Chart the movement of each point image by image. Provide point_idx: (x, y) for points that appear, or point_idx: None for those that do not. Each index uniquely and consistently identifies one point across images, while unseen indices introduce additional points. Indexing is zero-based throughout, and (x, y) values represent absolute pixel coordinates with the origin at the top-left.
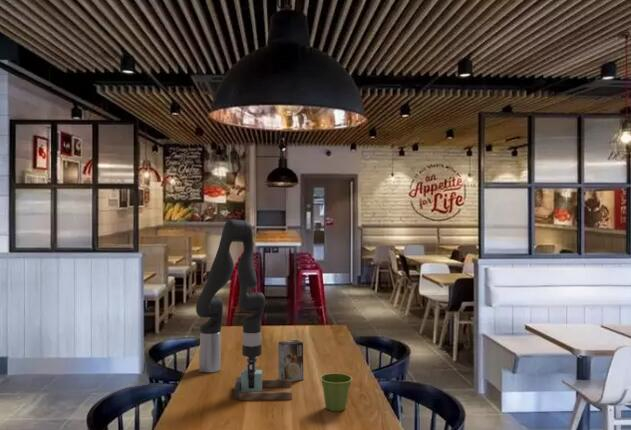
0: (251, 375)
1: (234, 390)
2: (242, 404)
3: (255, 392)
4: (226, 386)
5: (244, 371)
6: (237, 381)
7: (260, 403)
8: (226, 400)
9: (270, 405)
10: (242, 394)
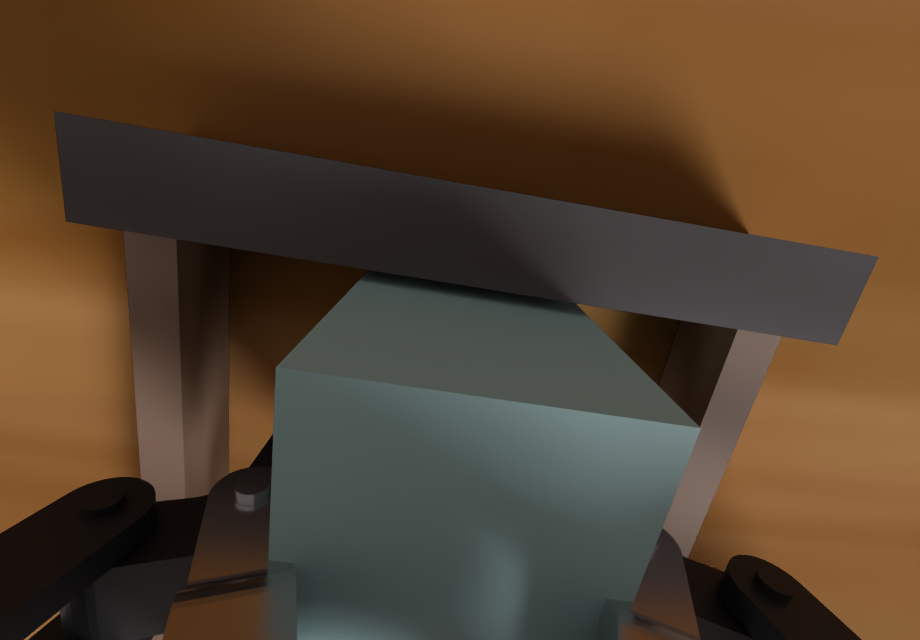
0: (73, 619)
1: (71, 124)
2: (16, 235)
3: (170, 446)
4: (830, 71)
5: (529, 484)
6: (586, 232)
7: (68, 434)
8: (176, 14)
9: (12, 515)
10: (139, 264)
